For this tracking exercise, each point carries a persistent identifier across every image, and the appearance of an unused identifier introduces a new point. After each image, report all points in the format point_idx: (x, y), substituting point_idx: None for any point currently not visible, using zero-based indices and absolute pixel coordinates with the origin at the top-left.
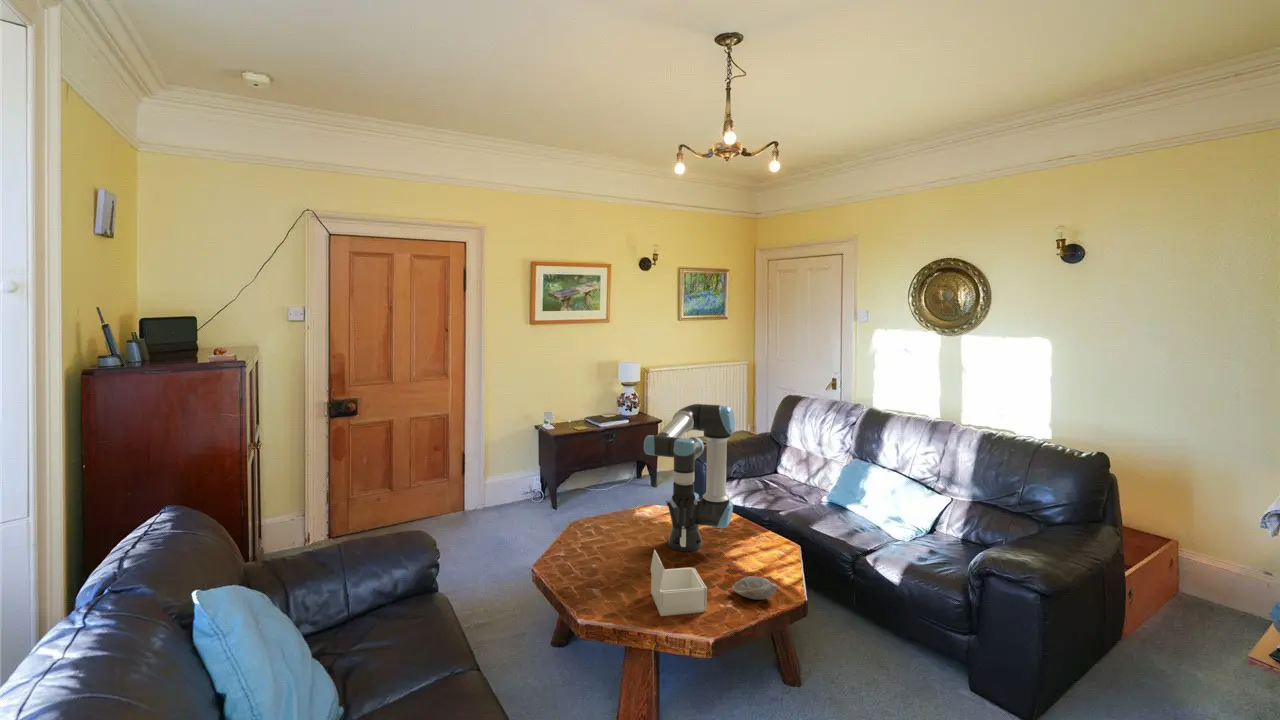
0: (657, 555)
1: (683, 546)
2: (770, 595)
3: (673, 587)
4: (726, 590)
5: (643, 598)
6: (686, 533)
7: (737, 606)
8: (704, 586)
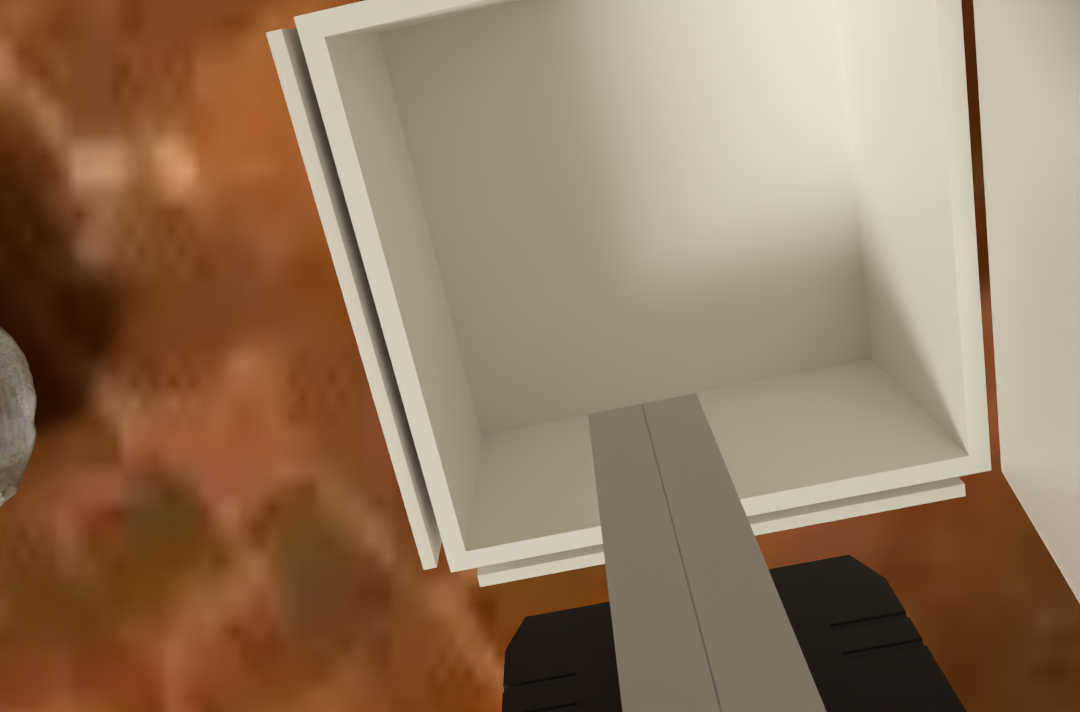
0: None
1: (650, 408)
2: None
3: None
4: (135, 453)
5: None
6: (585, 691)
7: (13, 149)
8: (300, 87)
